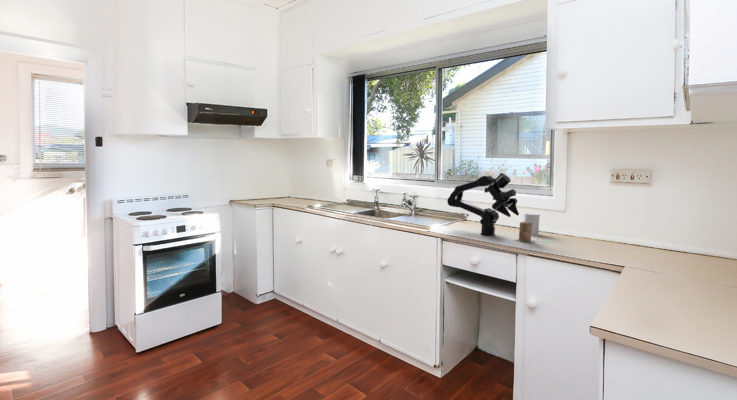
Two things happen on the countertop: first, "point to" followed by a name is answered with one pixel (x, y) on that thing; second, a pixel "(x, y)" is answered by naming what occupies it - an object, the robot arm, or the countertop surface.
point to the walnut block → (525, 231)
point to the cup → (533, 222)
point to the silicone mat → (525, 242)
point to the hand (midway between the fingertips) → (514, 215)
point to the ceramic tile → (545, 240)
